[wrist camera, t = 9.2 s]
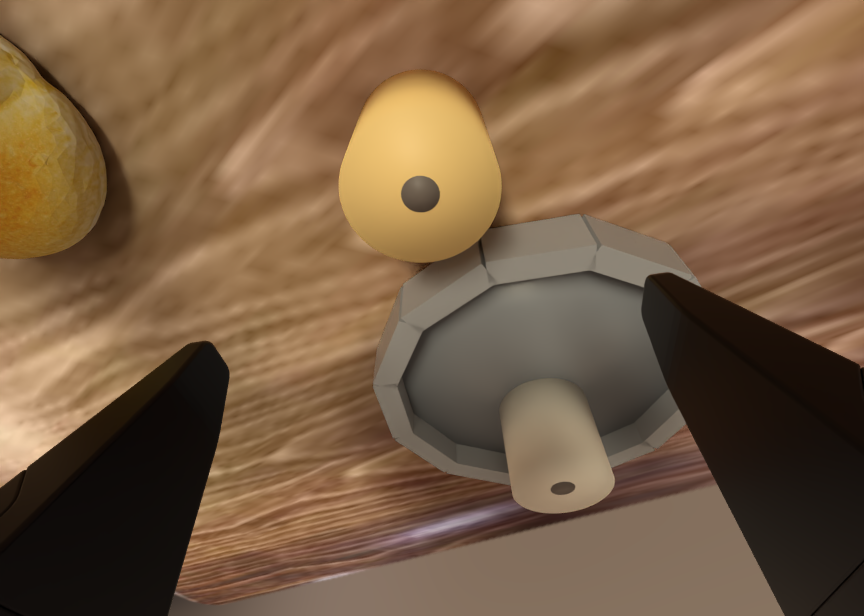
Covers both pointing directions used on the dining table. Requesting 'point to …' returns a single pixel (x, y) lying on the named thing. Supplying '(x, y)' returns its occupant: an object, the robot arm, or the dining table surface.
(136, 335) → the dining table surface
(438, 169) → the ochre bead
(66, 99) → the bread roll
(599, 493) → the cream bead
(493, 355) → the round tray
